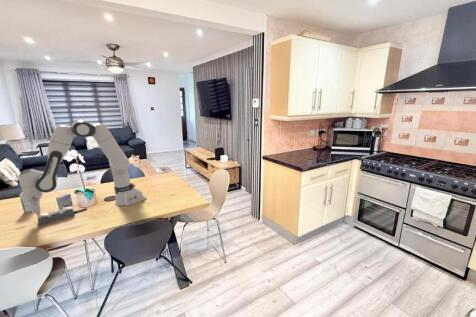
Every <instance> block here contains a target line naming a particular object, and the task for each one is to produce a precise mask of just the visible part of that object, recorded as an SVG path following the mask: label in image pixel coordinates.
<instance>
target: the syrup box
mask: <svg viewBox="0 0 476 317" xmlns="http://www.w3.org/2000/svg"><path fill="white" fill-rule="evenodd" d="M18 196H19V199H20V202H21V203H20V204H21V205H22V210H23V213H30V212H32V208H31V204H30V202H29V201H28V200H25V199H24V196H23V193H22V192H21V193H20V194H19V195H18Z"/></svg>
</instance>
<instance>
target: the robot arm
mask: <svg viewBox="0 0 476 317" xmlns="http://www.w3.org/2000/svg"><path fill="white" fill-rule="evenodd" d="M75 137H79V138H87V137H92V138H93V139H94V141H95V142H96V143H97V145H98V146H99V148H100V149H101V152H102V153H103V154H104V155H105V157H106V159H107V160H108V163H109V168H110V171H111V174H112V178H113V179H112V180H113V183H114V184H113V185H114V186H113V189H114V194H115V203H114V205H116V206H119V207H121V206H126V207H128V206H132V205H134V204H136V203H137V204H138V203H139V202H142V201H144V200H146V199H147V195H145V194H144V193H143V192H142V190H141V189H140V188H137V187H136V184H134V183H132V182H131V179H130V174H129V171H128V170H129V169H128V168H129V167H130V160H129V158H128V157H127V156H126V154H125V152H124V151H123V149H122V148H121V147H120V145H119V144H118V142H117V140H116V139H115V137H114V136H113V134H112V133H111V131H110V130H109V128H108V127H107V125H105V124H104V123H95V124H92V123H90V122H89V121H87V120H86V119H80V118H79V119H75V120H74V121H73V122H71V123H70V124H68V125H64V124H60V125H57V126H56V127H55V128H54V130H53V132H52V134H51V135H50V139H49V142H48V146H47V161H46V165H45V167H44V170H43V171H41V170H37V169H34V168H30V169H26V170H23V171H21V172H20V173H19V174H18V182H19V186H20V187H21V189H22V190H21V193H23V196H24V199H25V200H28V201H29V202H30V204H31V208H32V211H31V212H32V213H33V214H36V215H37V216H38V215H40V214H41V211H42V210H41V202H40V199H41V198H42V197H43V193H50V192H53V191H54V190H56V187H57V181H58V175H57V173H58V171H59V168H60V165H61V163H62V161H63V160H64V158H65V156H66V155H67V153H68V152H69V150H70V148H71V146H72V142H73V140H74V139H75Z"/></svg>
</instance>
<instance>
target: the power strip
mask: <svg viewBox="0 0 476 317" xmlns="http://www.w3.org/2000/svg"><path fill="white" fill-rule="evenodd" d="M70 207H72V208H73V206H71V205H70ZM59 209H60V212H58V213H57V214H54V215H52V216H51V214H50V212H51V211H49V212H47V213H48V214H49V216H47V217H44V218H42V217H38V216H37V222H38V226H43V225H46V223H47V224H51V223H53V221H54V222H57V221H60V220H64V219H66V218H70V217H74V216H75V214H76V213H80V212H83V211H87V210H88V208H87V207H85V208H82V209H79V210H75V211H74V208H73V209H72V210H69V211H66V210H64V211H63V209H62V208H59Z"/></svg>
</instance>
